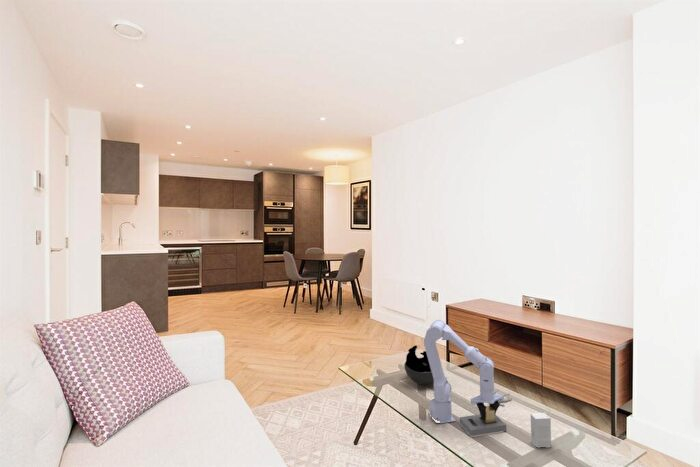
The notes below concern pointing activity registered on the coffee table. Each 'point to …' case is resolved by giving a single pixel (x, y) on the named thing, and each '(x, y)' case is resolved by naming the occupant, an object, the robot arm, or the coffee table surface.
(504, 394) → the soldier figure
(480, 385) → the robot arm
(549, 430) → the skincare box
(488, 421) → the square bit
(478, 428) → the bit holder
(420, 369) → the coal bowl
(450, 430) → the coffee table surface
